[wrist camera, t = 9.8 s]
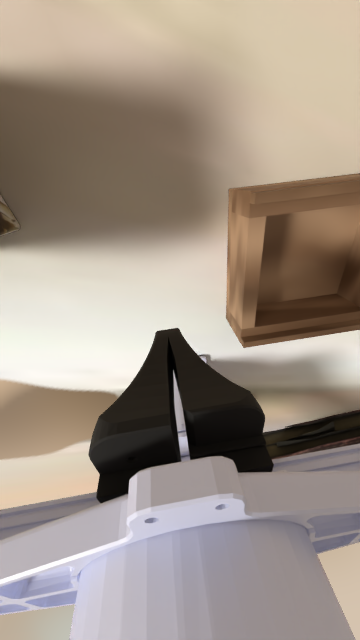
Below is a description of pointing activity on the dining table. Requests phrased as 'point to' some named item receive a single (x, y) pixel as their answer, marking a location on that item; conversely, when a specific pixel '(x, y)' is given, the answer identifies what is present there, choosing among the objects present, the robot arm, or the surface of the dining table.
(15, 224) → the coffee box
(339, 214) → the wooden box
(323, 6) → the dining table surface
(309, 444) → the diary
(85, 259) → the dining table surface
